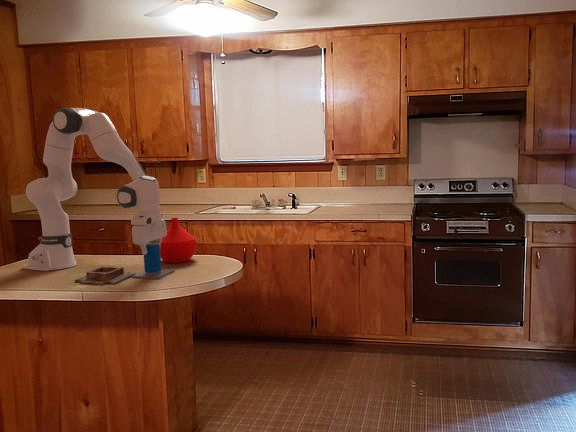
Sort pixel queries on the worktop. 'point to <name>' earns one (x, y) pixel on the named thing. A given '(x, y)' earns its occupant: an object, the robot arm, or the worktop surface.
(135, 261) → the worktop surface
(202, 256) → the worktop surface
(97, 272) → the socket
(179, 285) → the worktop surface
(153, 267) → the beverage can
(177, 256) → the vase
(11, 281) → the worktop surface
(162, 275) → the coaster
